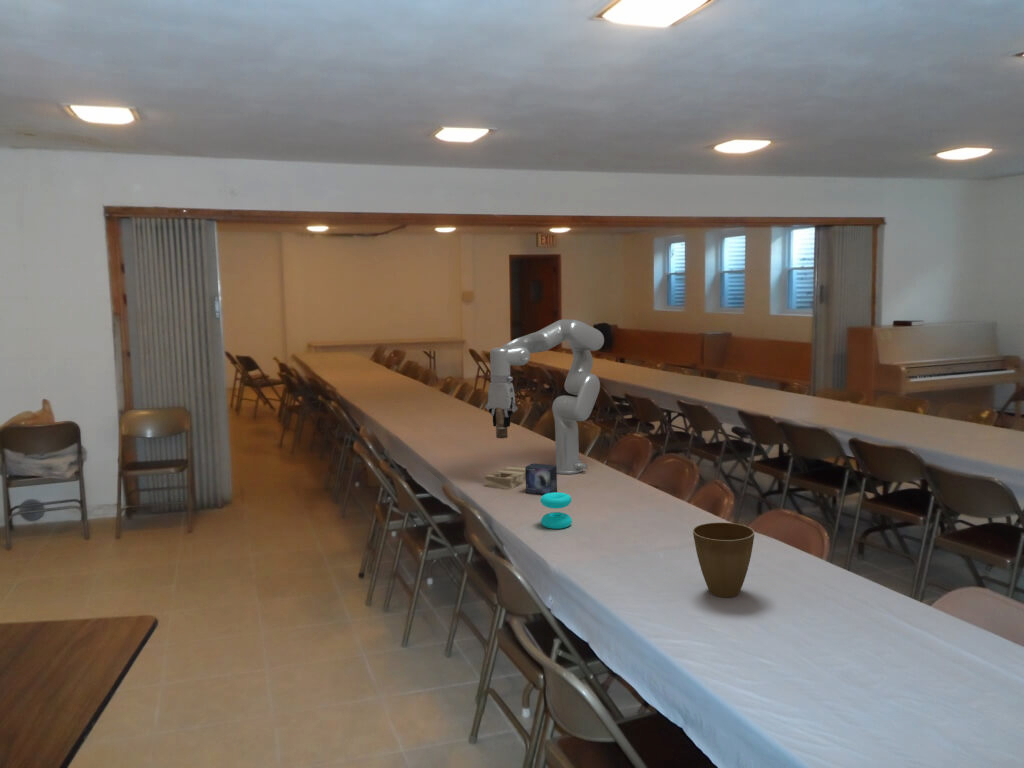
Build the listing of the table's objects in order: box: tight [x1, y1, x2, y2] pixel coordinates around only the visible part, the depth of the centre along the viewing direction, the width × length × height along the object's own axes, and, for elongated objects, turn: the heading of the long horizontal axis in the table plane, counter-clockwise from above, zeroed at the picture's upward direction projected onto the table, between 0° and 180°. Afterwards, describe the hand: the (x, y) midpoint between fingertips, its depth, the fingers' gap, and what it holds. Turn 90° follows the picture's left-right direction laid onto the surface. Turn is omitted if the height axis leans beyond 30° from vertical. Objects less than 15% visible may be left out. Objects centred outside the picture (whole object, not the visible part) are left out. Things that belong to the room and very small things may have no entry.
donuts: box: [540, 491, 573, 530], centre depth 261 cm, size 10×10×10 cm
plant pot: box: [692, 521, 755, 598], centre depth 202 cm, size 15×15×16 cm
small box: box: [525, 462, 558, 496], centre depth 302 cm, size 11×6×10 cm, turn 62°
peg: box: [495, 408, 508, 439], centre depth 312 cm, size 4×4×12 cm
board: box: [484, 465, 526, 490], centre depth 320 cm, size 20×11×4 cm, turn 149°
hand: (501, 425), depth 312 cm, fingers closed on peg, 4 cm apart
